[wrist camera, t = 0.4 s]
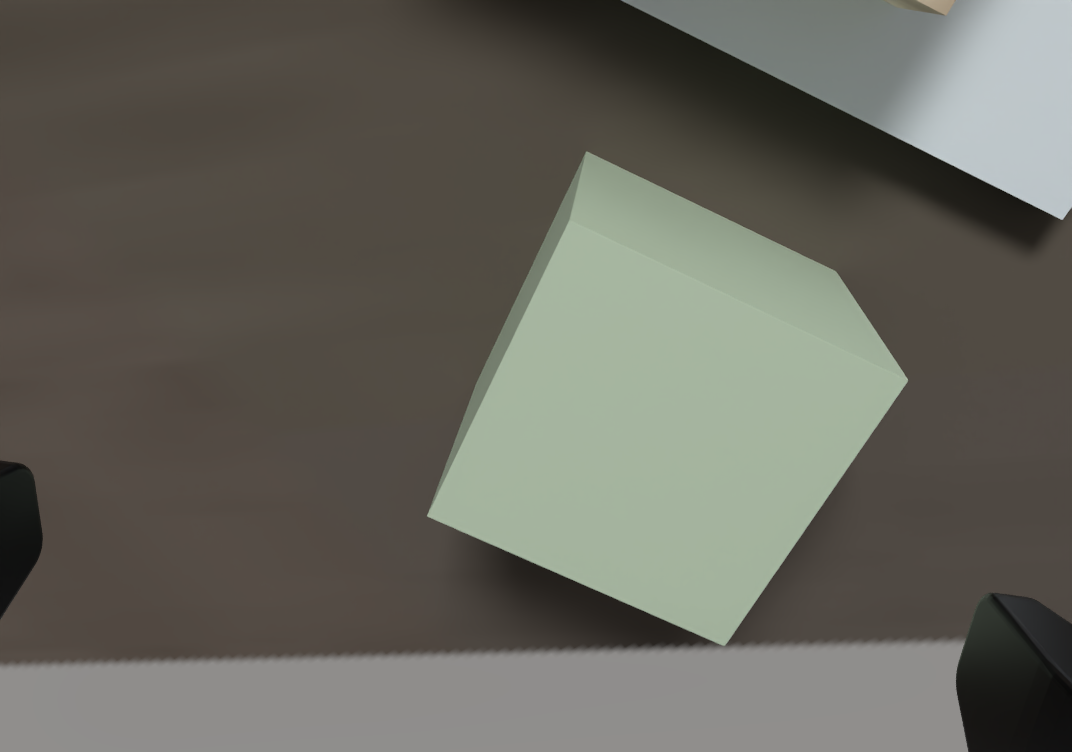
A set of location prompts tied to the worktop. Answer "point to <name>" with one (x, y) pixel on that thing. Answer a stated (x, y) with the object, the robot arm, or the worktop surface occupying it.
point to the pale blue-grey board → (921, 75)
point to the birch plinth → (924, 5)
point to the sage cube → (665, 404)
